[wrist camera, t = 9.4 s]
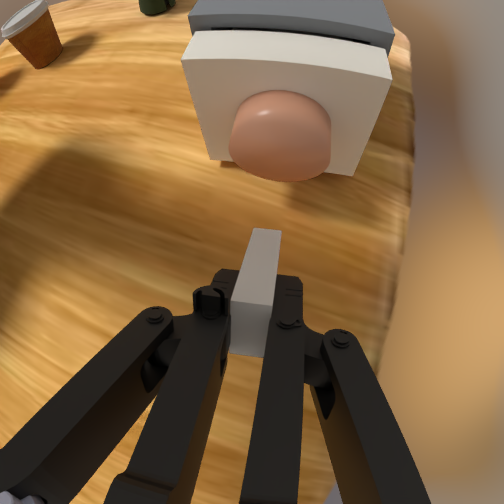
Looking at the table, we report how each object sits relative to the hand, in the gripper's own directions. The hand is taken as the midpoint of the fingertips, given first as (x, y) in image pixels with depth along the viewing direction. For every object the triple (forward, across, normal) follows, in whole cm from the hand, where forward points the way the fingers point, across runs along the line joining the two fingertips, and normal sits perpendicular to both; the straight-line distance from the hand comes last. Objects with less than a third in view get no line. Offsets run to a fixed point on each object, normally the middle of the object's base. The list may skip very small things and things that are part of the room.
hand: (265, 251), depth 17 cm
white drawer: (+18, 0, +7) cm, 19 cm away
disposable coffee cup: (+31, -43, +18) cm, 56 cm away
